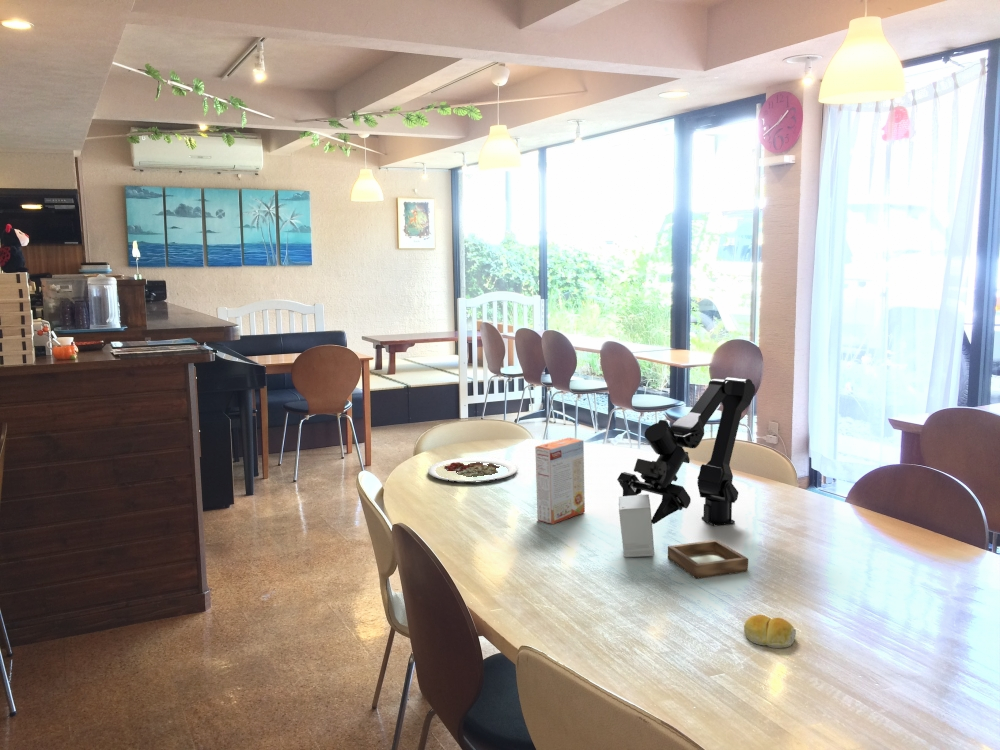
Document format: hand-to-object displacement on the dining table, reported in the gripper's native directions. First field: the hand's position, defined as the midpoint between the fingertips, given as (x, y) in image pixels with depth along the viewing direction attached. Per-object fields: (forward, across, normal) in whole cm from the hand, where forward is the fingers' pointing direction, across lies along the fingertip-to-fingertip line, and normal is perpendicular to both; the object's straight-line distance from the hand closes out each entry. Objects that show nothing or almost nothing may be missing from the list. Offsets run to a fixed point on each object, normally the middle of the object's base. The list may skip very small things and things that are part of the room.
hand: (636, 518), depth 191 cm
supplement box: (+5, 0, +6) cm, 8 cm away
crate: (+2, +16, +10) cm, 19 cm away
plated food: (-7, -85, +20) cm, 88 cm away
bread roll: (+18, +44, -4) cm, 48 cm away
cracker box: (+1, -32, +12) cm, 34 cm away
